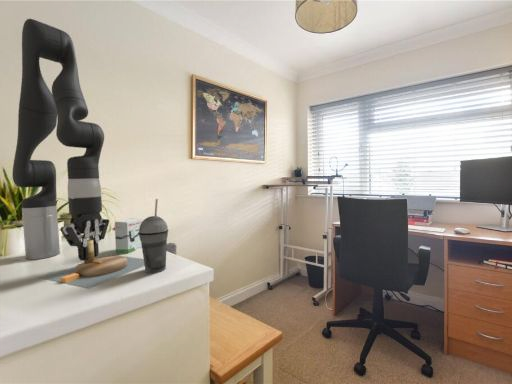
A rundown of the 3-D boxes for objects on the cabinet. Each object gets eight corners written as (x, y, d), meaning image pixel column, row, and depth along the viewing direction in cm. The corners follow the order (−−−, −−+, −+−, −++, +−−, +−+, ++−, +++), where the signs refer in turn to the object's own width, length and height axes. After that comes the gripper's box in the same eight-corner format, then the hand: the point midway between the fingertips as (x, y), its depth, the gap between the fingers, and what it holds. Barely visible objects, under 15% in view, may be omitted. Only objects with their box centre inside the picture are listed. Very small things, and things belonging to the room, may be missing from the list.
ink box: (128, 258, 83) (126, 221, 83) (115, 257, 84) (113, 222, 84) (145, 250, 92) (143, 217, 91) (133, 250, 93) (131, 217, 92)
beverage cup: (146, 271, 70) (142, 198, 69) (173, 269, 71) (169, 197, 70) (136, 281, 63) (131, 200, 62) (166, 279, 64) (162, 199, 63)
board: (39, 283, 64) (38, 273, 64) (112, 259, 82) (112, 251, 82) (88, 295, 56) (88, 283, 56) (157, 265, 75) (157, 257, 74)
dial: (137, 262, 73) (135, 236, 73) (100, 278, 62) (98, 248, 61) (104, 260, 77) (102, 235, 76) (63, 274, 65) (61, 245, 65)
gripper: (95, 194, 77) (98, 250, 78) (48, 197, 64) (52, 266, 64) (116, 193, 75) (119, 251, 76) (72, 197, 62) (77, 267, 63)
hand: (89, 258), depth 70 cm, fingers closed on dial, 2 cm apart
